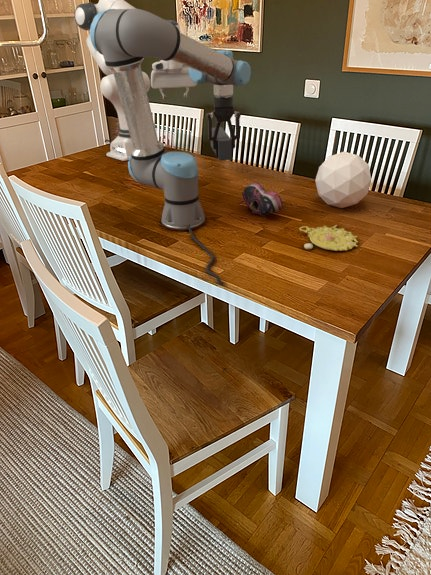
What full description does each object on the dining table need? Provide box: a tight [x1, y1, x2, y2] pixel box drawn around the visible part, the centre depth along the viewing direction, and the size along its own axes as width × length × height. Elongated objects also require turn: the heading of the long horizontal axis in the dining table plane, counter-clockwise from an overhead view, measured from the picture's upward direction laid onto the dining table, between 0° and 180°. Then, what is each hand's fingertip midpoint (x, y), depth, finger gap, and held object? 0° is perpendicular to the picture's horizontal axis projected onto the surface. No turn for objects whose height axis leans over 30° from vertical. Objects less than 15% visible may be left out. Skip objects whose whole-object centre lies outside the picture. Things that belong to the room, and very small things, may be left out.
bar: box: [210, 126, 233, 161], centre depth 187 cm, size 24×5×8 cm, turn 9°
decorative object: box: [299, 224, 359, 252], centre depth 141 cm, size 21×2×20 cm
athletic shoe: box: [238, 182, 284, 217], centre depth 160 cm, size 11×22×12 cm
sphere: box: [314, 151, 372, 209], centre depth 160 cm, size 19×20×20 cm
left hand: (174, 98), depth 197 cm, fingers open, 8 cm apart
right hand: (224, 156), depth 182 cm, fingers closed on bar, 5 cm apart
